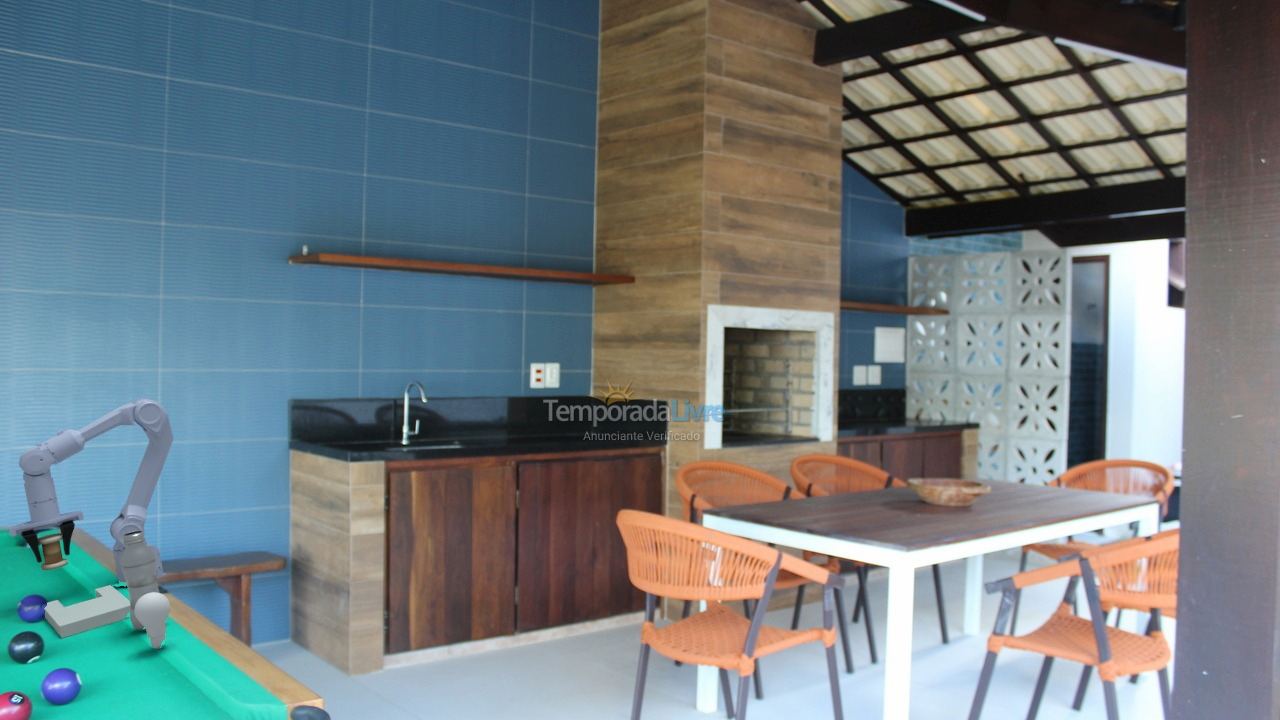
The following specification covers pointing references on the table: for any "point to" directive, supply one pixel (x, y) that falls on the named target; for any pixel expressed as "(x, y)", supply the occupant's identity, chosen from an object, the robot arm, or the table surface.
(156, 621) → the lightbulb
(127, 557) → the plastic bottle
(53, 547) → the bobbin
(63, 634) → the notched board
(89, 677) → the table surface
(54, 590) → the table surface
